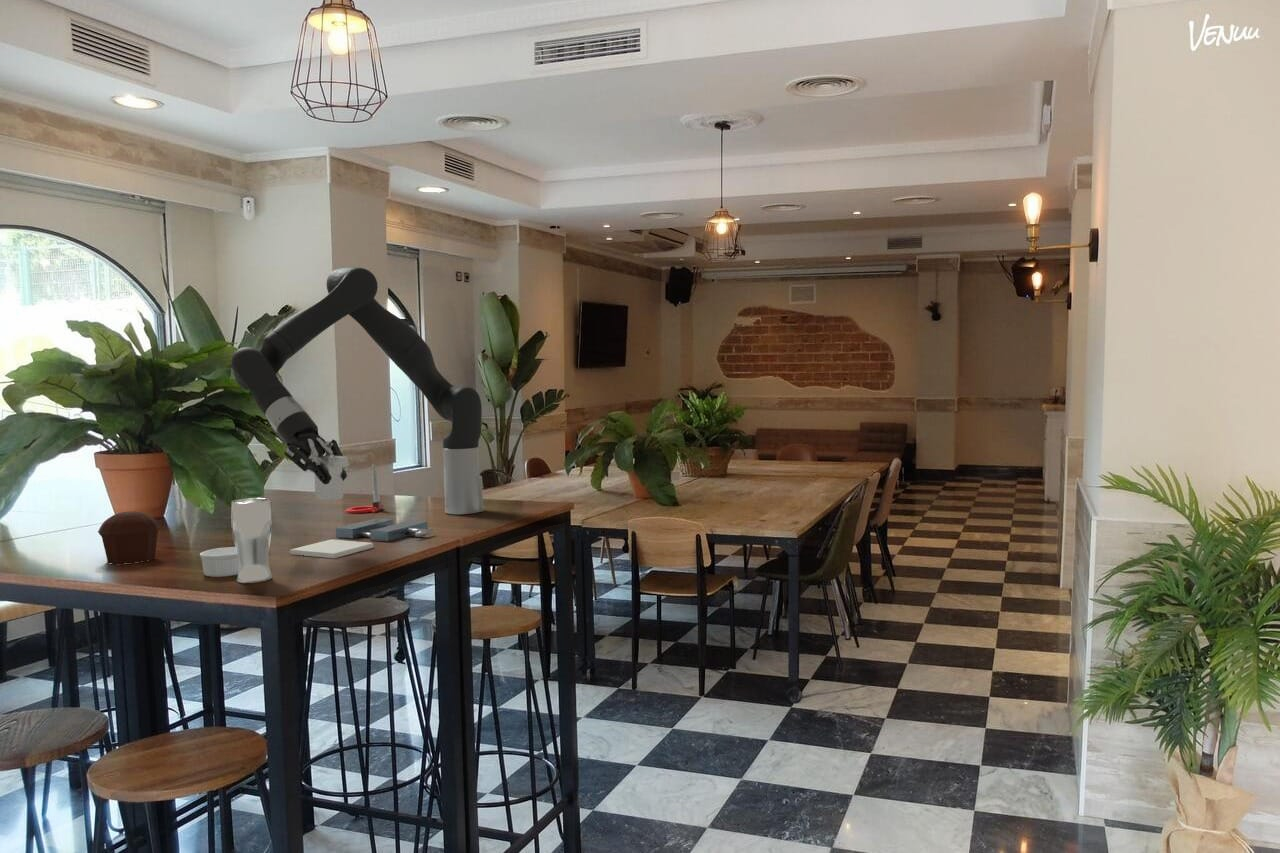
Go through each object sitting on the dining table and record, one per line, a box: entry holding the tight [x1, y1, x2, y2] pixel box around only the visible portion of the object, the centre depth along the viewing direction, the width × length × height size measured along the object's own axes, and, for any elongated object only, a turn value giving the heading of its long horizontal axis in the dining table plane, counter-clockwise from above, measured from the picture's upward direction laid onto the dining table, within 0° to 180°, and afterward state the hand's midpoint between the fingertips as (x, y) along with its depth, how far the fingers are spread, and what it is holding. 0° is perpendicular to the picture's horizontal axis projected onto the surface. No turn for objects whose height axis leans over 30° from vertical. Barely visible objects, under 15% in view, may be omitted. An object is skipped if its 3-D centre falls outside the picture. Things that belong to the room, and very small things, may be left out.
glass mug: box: [314, 455, 350, 501], centre depth 205 cm, size 6×4×9 cm, turn 64°
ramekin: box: [199, 546, 238, 578], centre depth 187 cm, size 9×9×4 cm
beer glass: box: [230, 497, 273, 584], centre depth 180 cm, size 7×7×15 cm
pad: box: [290, 539, 374, 559], centre depth 207 cm, size 12×12×1 cm
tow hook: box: [345, 463, 384, 514], centre depth 260 cm, size 8×13×9 cm
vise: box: [335, 518, 435, 543], centre depth 224 cm, size 20×14×2 cm
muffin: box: [97, 510, 162, 565], centre depth 201 cm, size 12×11×10 cm
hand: (336, 479), depth 205 cm, fingers closed on glass mug, 4 cm apart
